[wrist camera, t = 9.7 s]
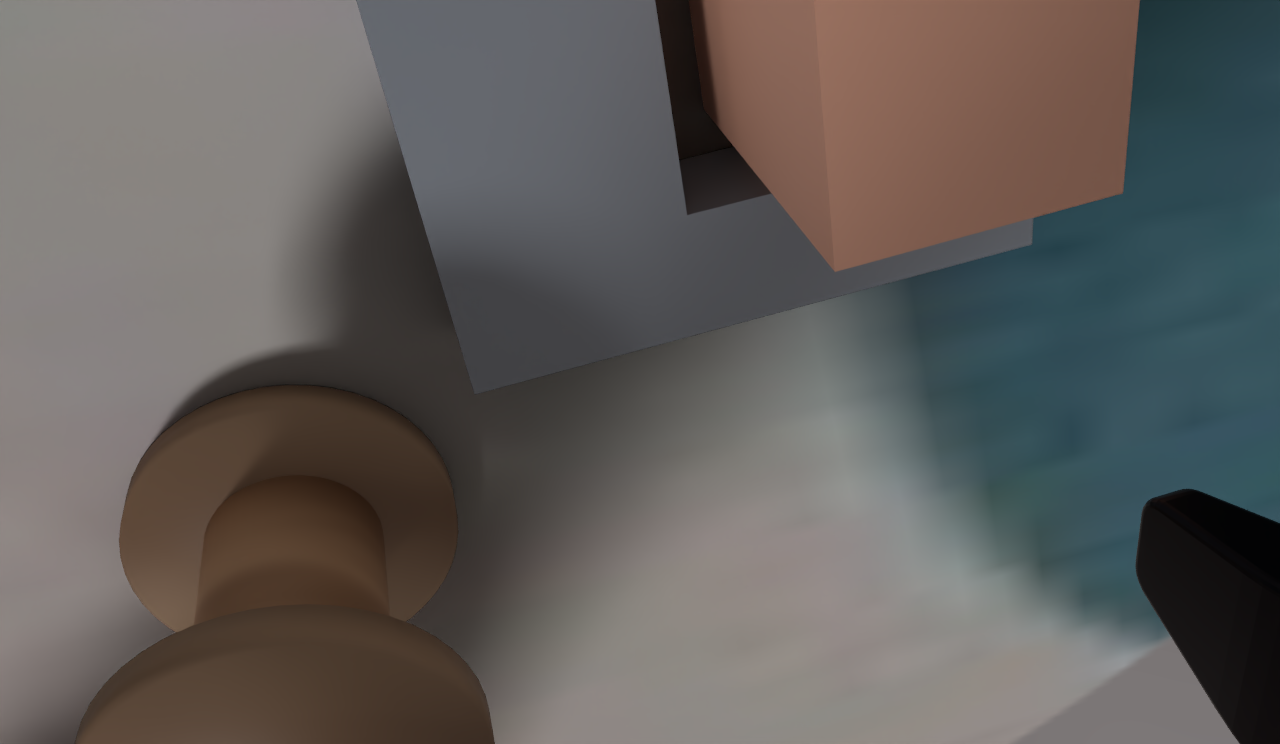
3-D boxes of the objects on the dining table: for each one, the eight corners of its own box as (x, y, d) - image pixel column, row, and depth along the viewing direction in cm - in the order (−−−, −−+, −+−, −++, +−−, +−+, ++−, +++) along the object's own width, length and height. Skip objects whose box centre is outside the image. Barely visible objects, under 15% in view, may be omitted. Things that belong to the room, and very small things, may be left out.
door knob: (484, 582, 24) (533, 849, 19) (198, 665, 23) (165, 965, 18) (406, 347, 21) (440, 595, 15) (67, 437, 20) (-18, 726, 15)
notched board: (977, 197, 22) (1032, 243, 20) (461, 333, 21) (474, 394, 19) (986, -444, 16) (1064, -451, 14) (273, -301, 15) (268, -292, 13)
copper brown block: (923, 52, 20) (1123, 193, 15) (703, 108, 19) (834, 272, 15) (917, -199, 18) (1150, -129, 13) (668, -141, 17) (810, -46, 12)
